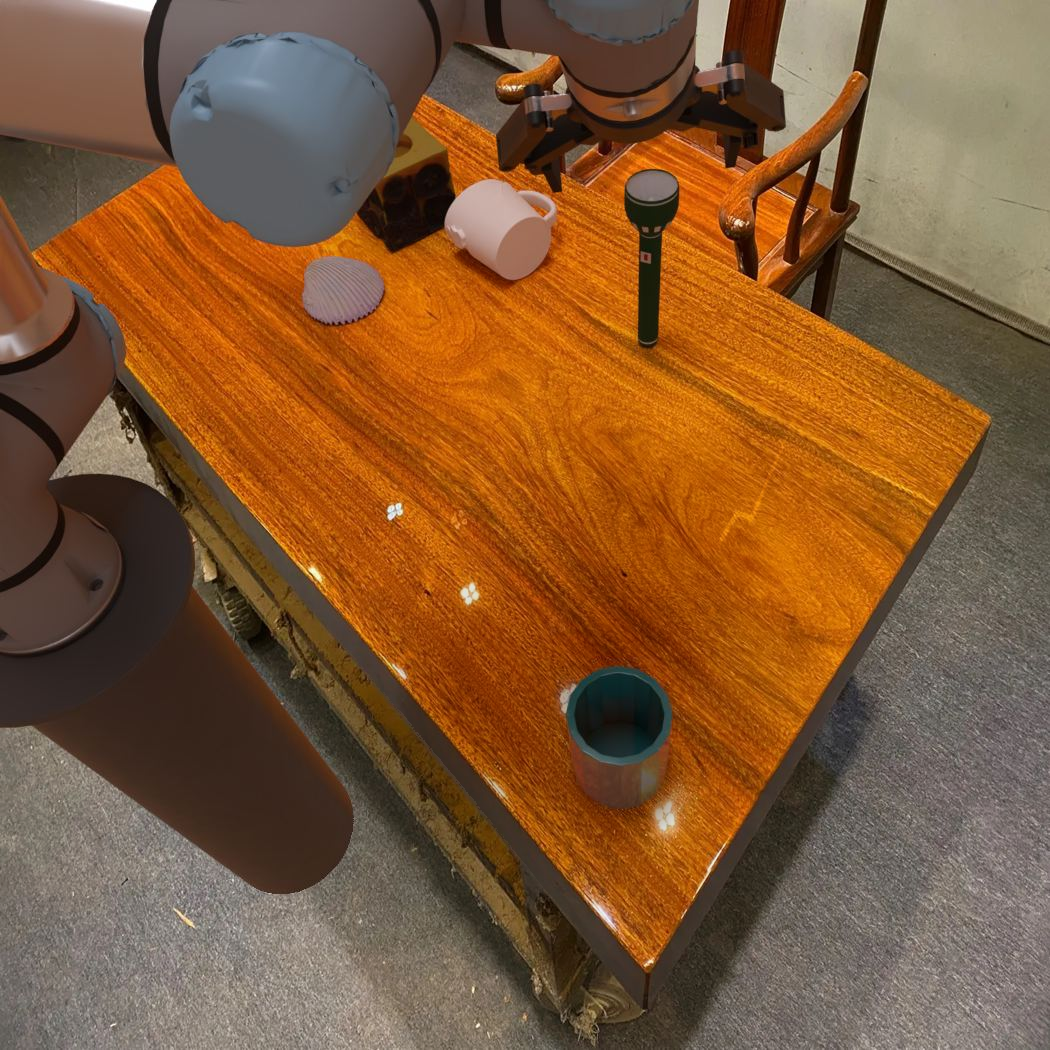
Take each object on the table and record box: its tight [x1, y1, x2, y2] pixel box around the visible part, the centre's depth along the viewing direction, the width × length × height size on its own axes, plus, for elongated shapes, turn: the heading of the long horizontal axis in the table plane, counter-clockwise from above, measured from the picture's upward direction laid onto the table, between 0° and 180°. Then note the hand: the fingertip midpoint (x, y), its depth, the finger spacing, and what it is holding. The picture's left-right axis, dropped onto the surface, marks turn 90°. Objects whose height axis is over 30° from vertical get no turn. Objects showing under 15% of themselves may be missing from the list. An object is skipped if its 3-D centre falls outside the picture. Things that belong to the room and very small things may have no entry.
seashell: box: [301, 256, 386, 326], centre depth 109 cm, size 10×6×10 cm
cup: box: [565, 665, 674, 809], centre depth 72 cm, size 8×8×10 cm
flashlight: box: [623, 168, 680, 349], centre depth 94 cm, size 5×5×20 cm
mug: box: [444, 178, 558, 281], centre depth 109 cm, size 12×9×8 cm
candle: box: [356, 116, 457, 253], centre depth 114 cm, size 10×10×10 cm
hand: (641, 163), depth 74 cm, fingers open, 13 cm apart
